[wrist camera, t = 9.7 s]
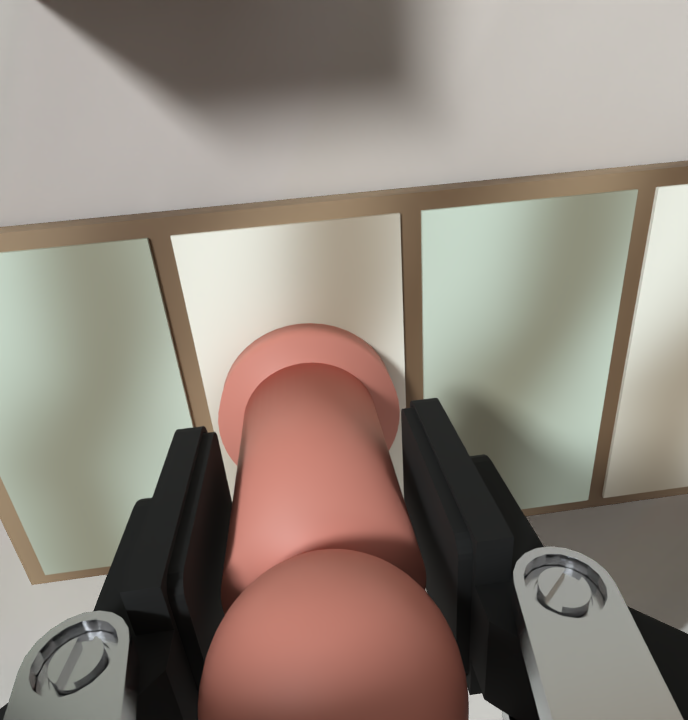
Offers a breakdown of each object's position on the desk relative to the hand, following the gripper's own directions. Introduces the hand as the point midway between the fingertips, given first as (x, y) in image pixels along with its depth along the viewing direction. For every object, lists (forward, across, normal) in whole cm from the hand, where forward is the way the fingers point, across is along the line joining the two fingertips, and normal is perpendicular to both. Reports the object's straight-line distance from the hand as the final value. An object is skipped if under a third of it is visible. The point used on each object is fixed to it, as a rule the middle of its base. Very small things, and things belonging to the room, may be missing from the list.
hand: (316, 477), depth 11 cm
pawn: (+3, 0, 0) cm, 3 cm away
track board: (+4, -3, 0) cm, 5 cm away
